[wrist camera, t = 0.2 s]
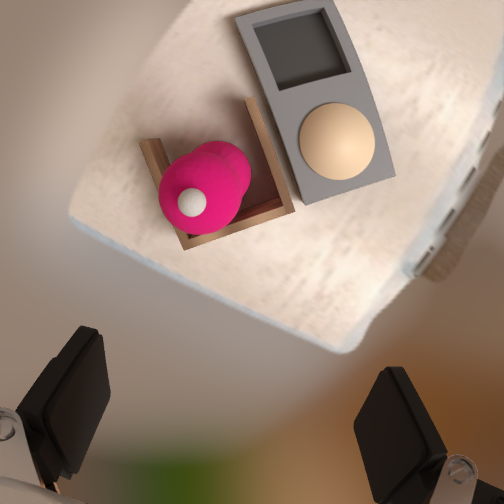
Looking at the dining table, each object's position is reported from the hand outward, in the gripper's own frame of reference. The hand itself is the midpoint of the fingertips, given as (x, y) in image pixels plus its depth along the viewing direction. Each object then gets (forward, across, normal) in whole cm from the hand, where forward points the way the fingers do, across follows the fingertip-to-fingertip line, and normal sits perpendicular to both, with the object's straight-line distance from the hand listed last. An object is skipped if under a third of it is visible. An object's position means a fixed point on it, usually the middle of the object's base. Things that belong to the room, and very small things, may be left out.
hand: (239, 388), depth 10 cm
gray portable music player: (+31, -6, -14) cm, 35 cm away
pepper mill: (+31, +4, -3) cm, 31 cm away
